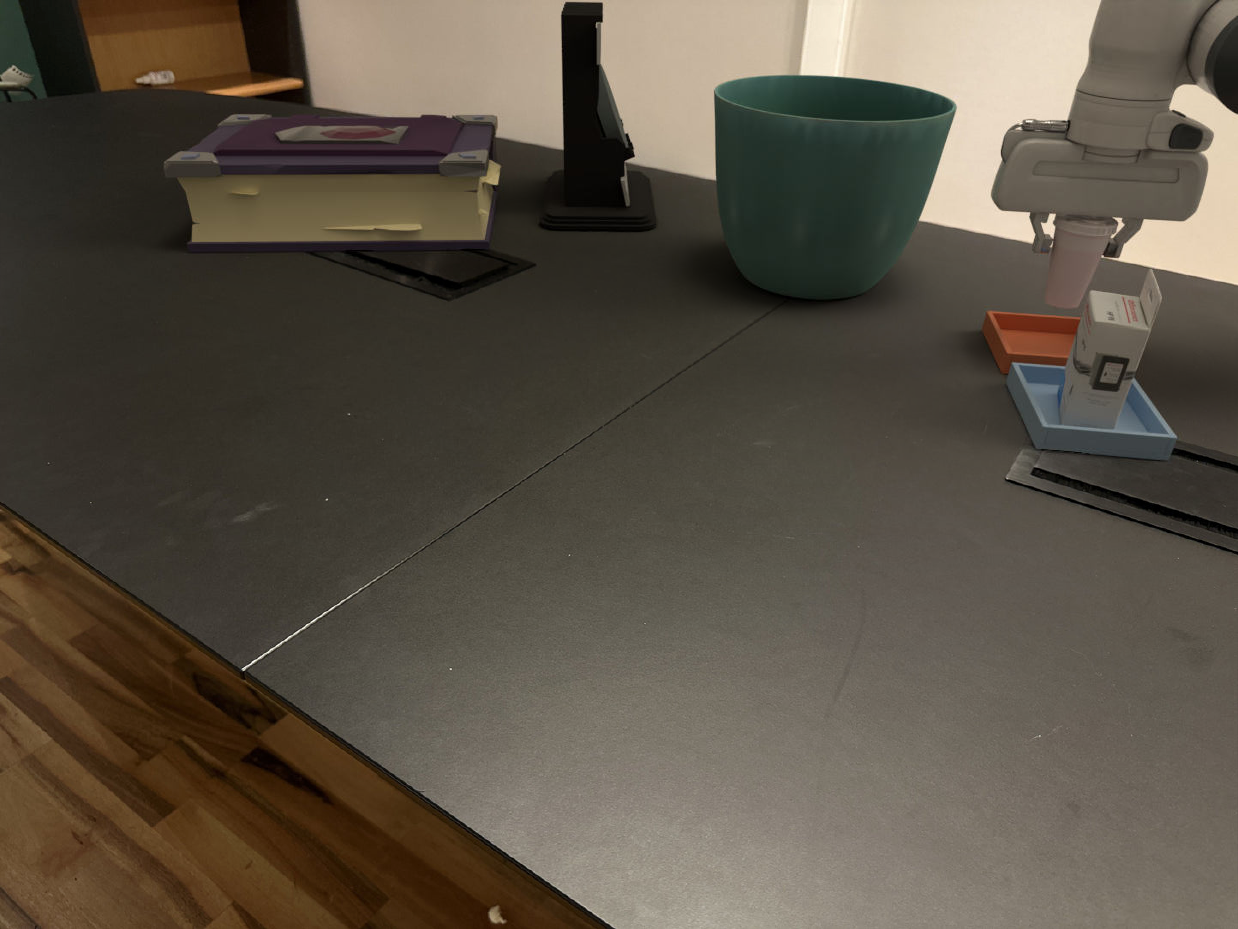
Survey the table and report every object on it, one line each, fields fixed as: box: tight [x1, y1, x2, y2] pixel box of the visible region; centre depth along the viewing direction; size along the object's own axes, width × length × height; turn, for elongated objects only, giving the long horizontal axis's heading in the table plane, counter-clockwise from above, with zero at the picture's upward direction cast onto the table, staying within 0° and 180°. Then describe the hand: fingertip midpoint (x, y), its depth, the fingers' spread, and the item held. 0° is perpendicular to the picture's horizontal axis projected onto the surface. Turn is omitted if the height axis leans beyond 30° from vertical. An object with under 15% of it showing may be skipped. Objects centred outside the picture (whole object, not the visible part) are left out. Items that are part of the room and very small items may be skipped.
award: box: [539, 1, 658, 231], centre depth 146 cm, size 30×19×30 cm, turn 1°
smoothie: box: [1043, 214, 1120, 310], centre depth 98 cm, size 6×6×14 cm
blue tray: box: [1005, 362, 1178, 462], centre depth 92 cm, size 12×14×3 cm
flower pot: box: [713, 74, 958, 301], centre depth 120 cm, size 30×30×24 cm
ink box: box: [1058, 268, 1163, 430], centre depth 89 cm, size 9×5×15 cm, turn 160°
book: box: [163, 113, 502, 253], centre depth 142 cm, size 33×45×14 cm
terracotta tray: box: [981, 310, 1081, 375], centre depth 105 cm, size 12×12×3 cm
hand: (1075, 254), depth 99 cm, fingers closed on smoothie, 6 cm apart
